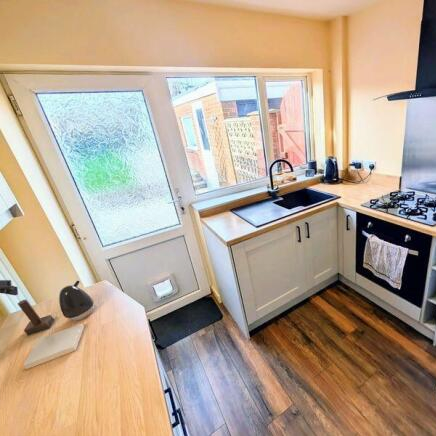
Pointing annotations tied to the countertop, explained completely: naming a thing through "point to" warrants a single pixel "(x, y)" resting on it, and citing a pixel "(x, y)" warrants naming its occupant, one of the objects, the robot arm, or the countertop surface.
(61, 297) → the black pear
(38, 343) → the tile
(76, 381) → the countertop surface
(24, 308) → the brown peg on base
